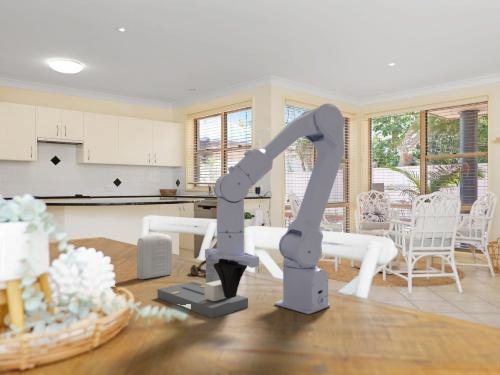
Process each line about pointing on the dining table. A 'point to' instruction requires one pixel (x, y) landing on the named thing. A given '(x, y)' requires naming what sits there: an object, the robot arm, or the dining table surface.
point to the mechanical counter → (197, 269)
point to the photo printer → (154, 256)
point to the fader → (214, 291)
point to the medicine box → (211, 270)
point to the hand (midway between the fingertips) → (230, 296)
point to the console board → (201, 299)
